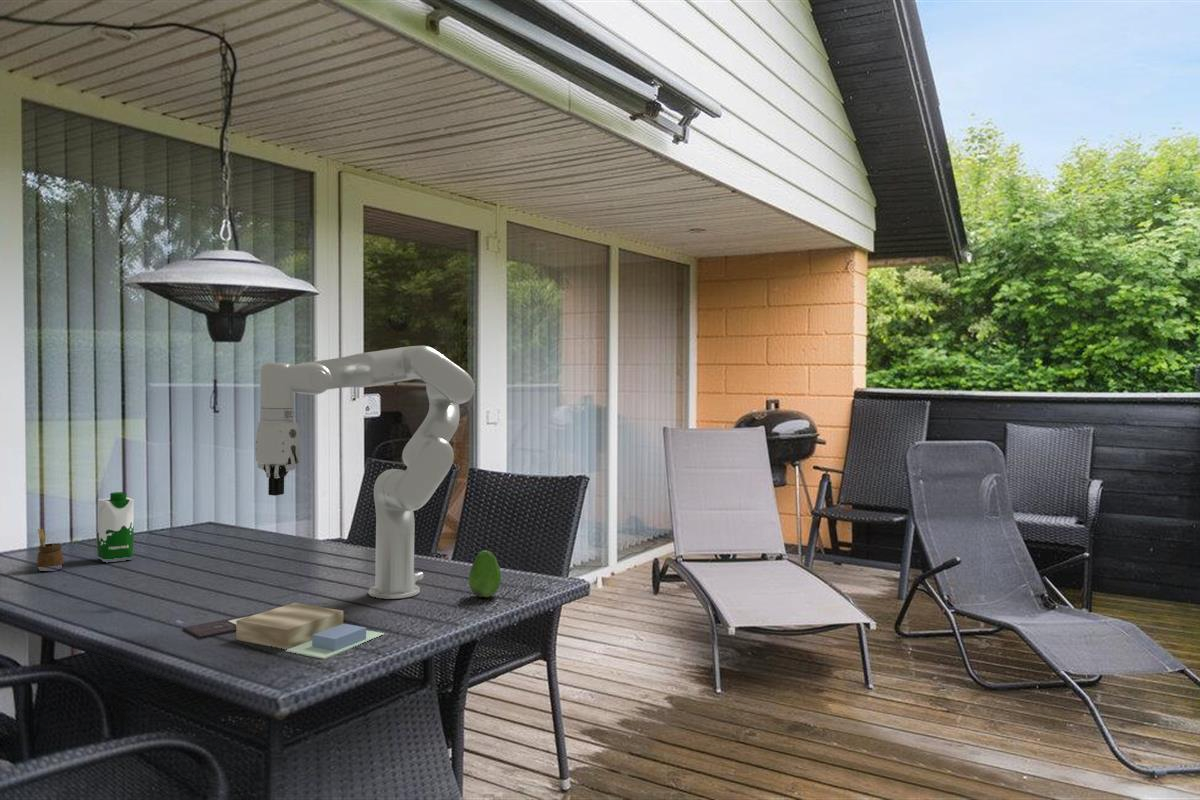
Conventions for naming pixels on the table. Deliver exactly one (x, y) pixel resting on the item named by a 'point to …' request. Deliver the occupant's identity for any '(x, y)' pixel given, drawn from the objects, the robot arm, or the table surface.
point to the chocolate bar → (215, 627)
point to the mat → (324, 653)
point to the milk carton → (115, 526)
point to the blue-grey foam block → (339, 637)
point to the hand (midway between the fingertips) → (276, 494)
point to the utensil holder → (49, 552)
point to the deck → (287, 625)
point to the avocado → (485, 575)
